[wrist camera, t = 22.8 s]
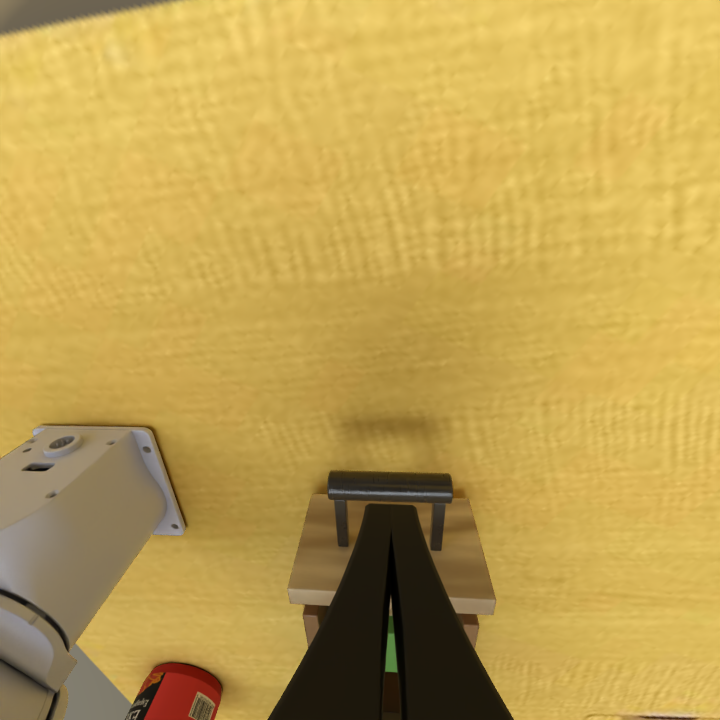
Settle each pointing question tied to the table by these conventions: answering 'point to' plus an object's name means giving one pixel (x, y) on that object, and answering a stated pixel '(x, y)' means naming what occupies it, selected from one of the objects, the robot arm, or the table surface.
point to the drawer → (340, 531)
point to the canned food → (177, 694)
